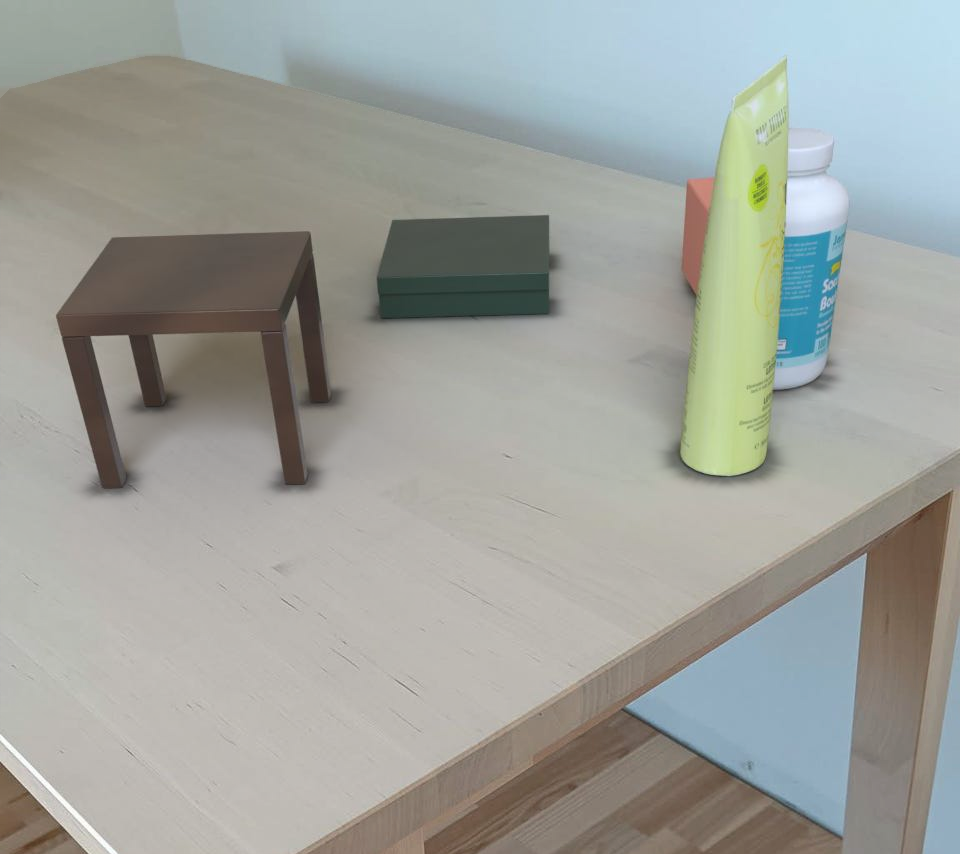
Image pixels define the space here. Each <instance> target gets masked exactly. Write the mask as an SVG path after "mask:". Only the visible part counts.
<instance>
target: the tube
mask: <svg viewBox="0 0 960 854" xmlns="http://www.w3.org/2000/svg"><path fill="white" fill-rule="evenodd" d="M787 67H788V55H787V54H785V55H783V57H781V59H779V60H778V61H777V62H776V63H775V64H773V65H772V66H771V67H769V69H768V70H766V71H765V72H764V73H762V74H761V75H760V76H758V77H757V78H756V79H755V80H754V81H753V82H751V83H750V84H749V85H747V86H746V87H745V88H744V89H742V90H740V91H739V92H738V93H736V94H735V95H733V97H732V99H731V108H730V111H729V113H728V116H727V118H726V121H725V125H724V129H723V133H722V137H721V141H720V145H719V151H718V156H717V161H716V166H715V172H714V177H715V178H714V184H713V190H712V196H711V203H710V208H709V214H708V220H707V227H706V234H705V241H704V247H703V254H702V261H701V269H700V276H699V284H698V291H697V296H696V300H695V301H696V302H695V306H694V315H693V323H692V333H691V339H690V340H691V341H690V349H689V357H688V358H689V359H688V367H687V376H686V387H685V397H684V408H683V417H682V426H681V437H680V451H679V453H680V458H681V460H682V461H683V462H684V463H685V464H686V466H688V467H690V468H691V469H693V470H695V471H697V472H699V473H701V474H702V473H703V474H706V475H711V476H720V477H722V476H723V477H733V476H739V475H742V474H745V473H749V472H751V471H754V470H755V469H757V468H759V467H760V466H761V465H762V464H763V463H764V462H765V460H766V456H767V451H768V444H769V435H770V434H769V433H770V424H771V415H772V406H773V395H774V390H773V386H774V376H775V365H776V354H777V342H778V331H779V317H780V304H781V290H782V275H783V259H784V244H785V225H786V197H787V167H788V128H789V123H790V121H789V120H790V119H789V117H790V116H789V114H790V113H789V111H790V110H789V84H788V69H787Z"/></svg>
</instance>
